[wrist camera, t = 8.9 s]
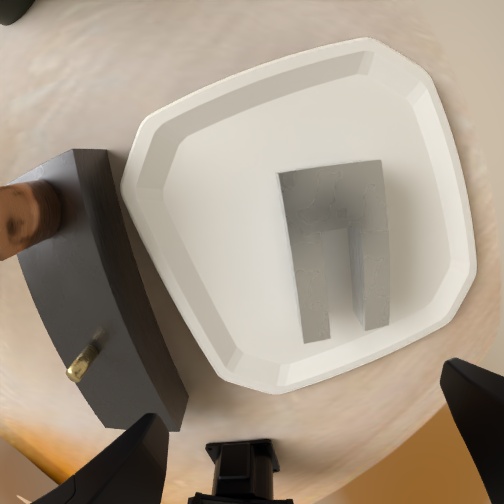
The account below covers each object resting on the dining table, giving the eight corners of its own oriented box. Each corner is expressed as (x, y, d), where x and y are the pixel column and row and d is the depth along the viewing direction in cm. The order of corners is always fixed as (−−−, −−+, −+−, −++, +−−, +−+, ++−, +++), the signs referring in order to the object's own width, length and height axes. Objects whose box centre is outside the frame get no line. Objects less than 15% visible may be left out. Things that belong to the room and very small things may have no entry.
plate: (114, 145, 17) (97, 144, 15) (396, 40, 14) (410, 29, 12) (239, 389, 22) (237, 408, 20) (466, 295, 20) (480, 307, 17)
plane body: (188, 396, 22) (168, 472, 14) (120, 397, 23) (88, 461, 15) (106, 149, 16) (23, 149, 9) (35, 181, 17) (-43, 199, 9)
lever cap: (374, 305, 17) (389, 325, 15) (298, 321, 18) (303, 343, 15) (363, 159, 15) (381, 159, 12) (274, 172, 15) (278, 173, 13)
